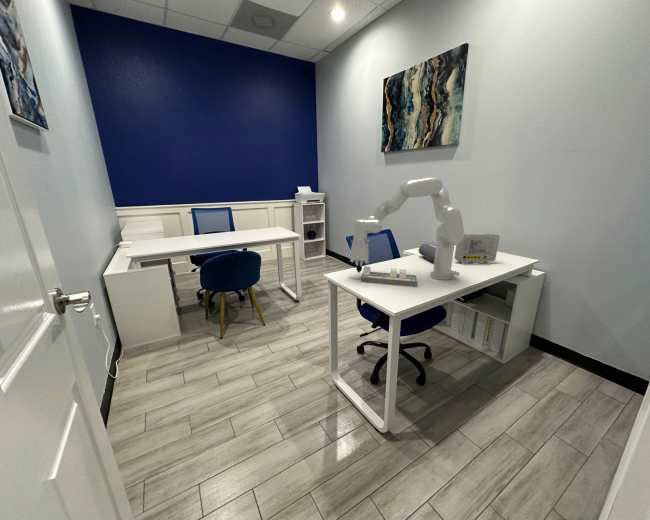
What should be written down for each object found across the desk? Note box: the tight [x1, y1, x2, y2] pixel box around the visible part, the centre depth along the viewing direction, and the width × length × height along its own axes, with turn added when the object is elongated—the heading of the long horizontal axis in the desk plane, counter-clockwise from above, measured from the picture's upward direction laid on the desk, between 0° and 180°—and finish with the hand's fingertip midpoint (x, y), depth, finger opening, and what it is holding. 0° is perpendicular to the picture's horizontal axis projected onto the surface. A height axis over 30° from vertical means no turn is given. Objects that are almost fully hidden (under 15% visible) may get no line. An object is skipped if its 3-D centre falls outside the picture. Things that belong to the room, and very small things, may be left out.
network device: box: [453, 233, 501, 266], centre depth 185 cm, size 26×9×20 cm, turn 88°
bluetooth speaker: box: [418, 243, 436, 264], centre depth 192 cm, size 23×9×10 cm, turn 13°
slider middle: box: [389, 268, 398, 278], centre depth 156 cm, size 4×5×4 cm
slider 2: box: [398, 268, 407, 278], centre depth 155 cm, size 4×5×4 cm
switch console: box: [360, 271, 418, 288], centre depth 158 cm, size 30×10×3 cm, turn 76°
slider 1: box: [362, 265, 371, 275], centre depth 160 cm, size 4×5×4 cm
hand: (359, 271), depth 161 cm, fingers closed
